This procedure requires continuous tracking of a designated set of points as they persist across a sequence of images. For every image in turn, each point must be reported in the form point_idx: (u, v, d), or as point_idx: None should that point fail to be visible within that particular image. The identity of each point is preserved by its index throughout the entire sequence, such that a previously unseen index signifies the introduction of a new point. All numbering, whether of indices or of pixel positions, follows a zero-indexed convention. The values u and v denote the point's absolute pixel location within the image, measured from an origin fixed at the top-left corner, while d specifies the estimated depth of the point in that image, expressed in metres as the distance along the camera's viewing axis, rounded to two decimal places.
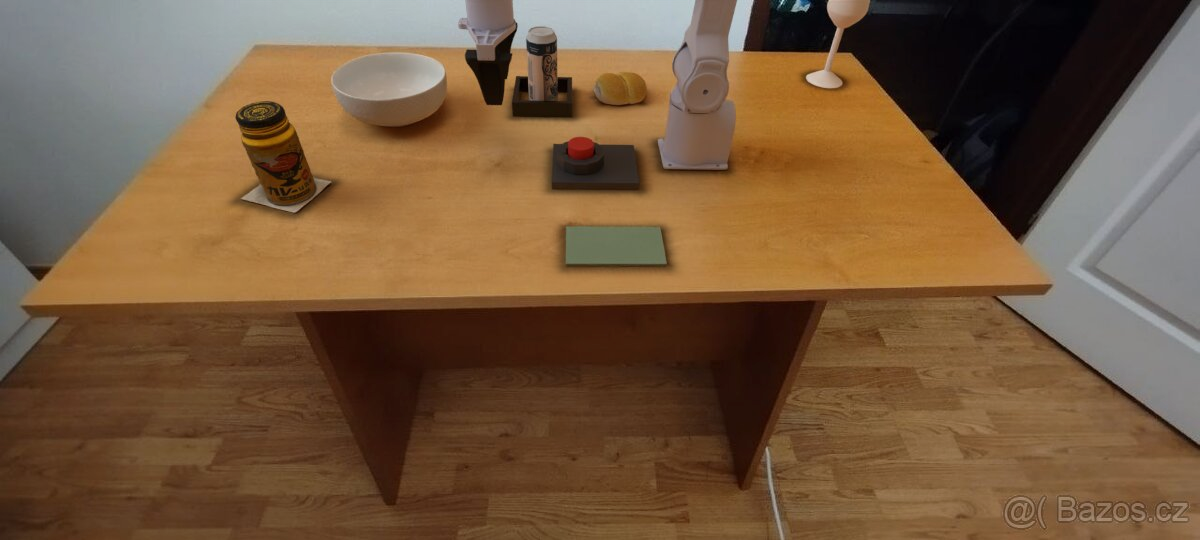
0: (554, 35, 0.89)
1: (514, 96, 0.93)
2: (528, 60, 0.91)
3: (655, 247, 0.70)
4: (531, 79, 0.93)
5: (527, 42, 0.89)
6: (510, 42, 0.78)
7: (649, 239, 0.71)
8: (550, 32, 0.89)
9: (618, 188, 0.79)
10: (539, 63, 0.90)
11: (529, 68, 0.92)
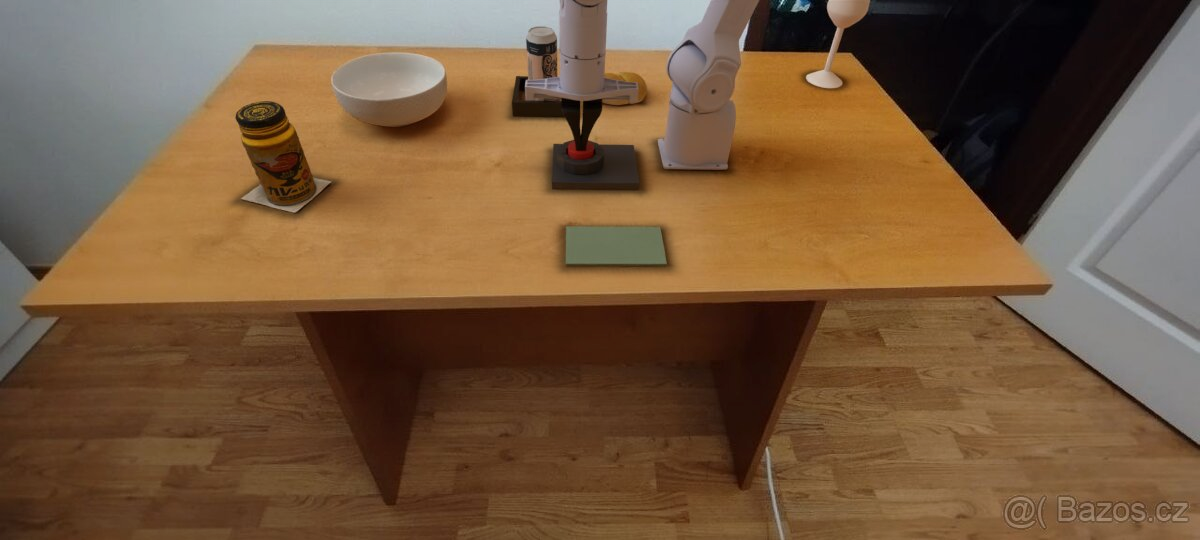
0: (554, 35, 0.89)
1: (514, 96, 0.93)
2: (528, 60, 0.91)
3: (655, 247, 0.70)
4: (531, 79, 0.93)
5: (527, 42, 0.89)
6: (583, 120, 0.76)
7: (649, 239, 0.71)
8: (550, 32, 0.89)
9: (618, 188, 0.79)
10: (539, 63, 0.90)
11: (529, 68, 0.92)
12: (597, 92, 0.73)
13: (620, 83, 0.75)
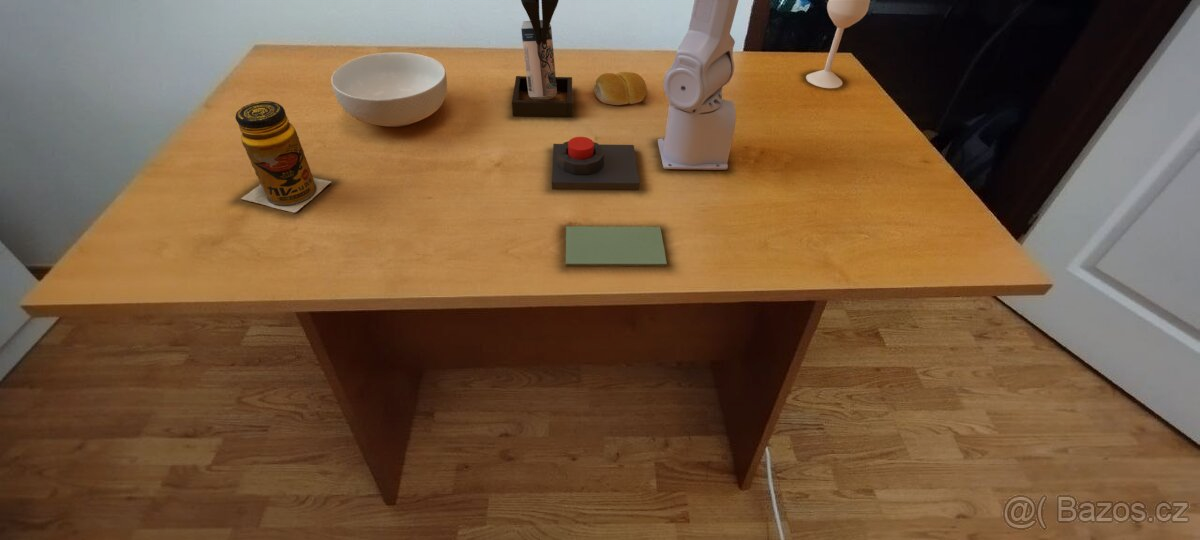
0: None
1: (514, 96, 0.93)
2: (524, 50, 0.93)
3: (655, 247, 0.70)
4: (528, 69, 0.93)
5: (522, 31, 0.92)
6: None
7: (649, 239, 0.71)
8: None
9: (618, 188, 0.79)
10: (535, 48, 0.91)
11: (526, 58, 0.93)
12: None
13: None
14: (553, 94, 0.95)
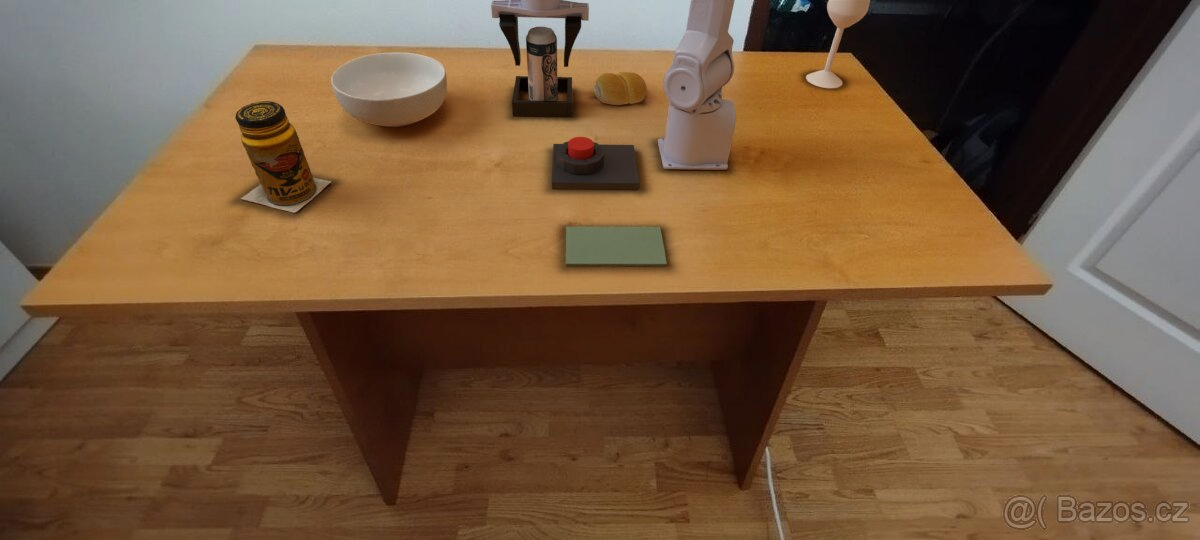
0: (554, 35, 0.89)
1: (514, 96, 0.93)
2: (528, 60, 0.91)
3: (655, 247, 0.70)
4: (531, 79, 0.93)
5: (527, 42, 0.89)
6: None
7: (649, 239, 0.71)
8: (550, 32, 0.89)
9: (618, 188, 0.79)
10: (539, 63, 0.90)
11: (529, 68, 0.92)
12: (552, 9, 0.85)
13: (574, 4, 0.88)
14: None
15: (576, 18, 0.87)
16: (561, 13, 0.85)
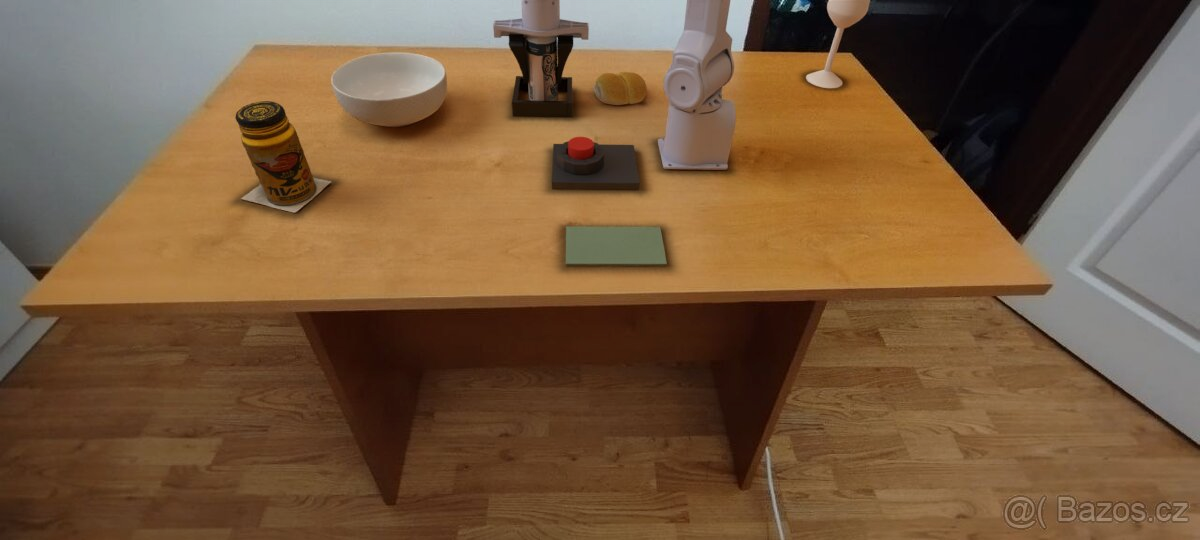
0: (554, 35, 0.89)
1: (514, 96, 0.93)
2: (528, 60, 0.91)
3: (655, 247, 0.70)
4: (531, 79, 0.93)
5: (527, 42, 0.89)
6: None
7: (649, 239, 0.71)
8: None
9: (618, 188, 0.79)
10: (539, 63, 0.90)
11: (529, 68, 0.92)
12: (553, 29, 0.87)
13: (574, 23, 0.90)
14: None
15: (568, 37, 0.89)
16: (561, 33, 0.87)
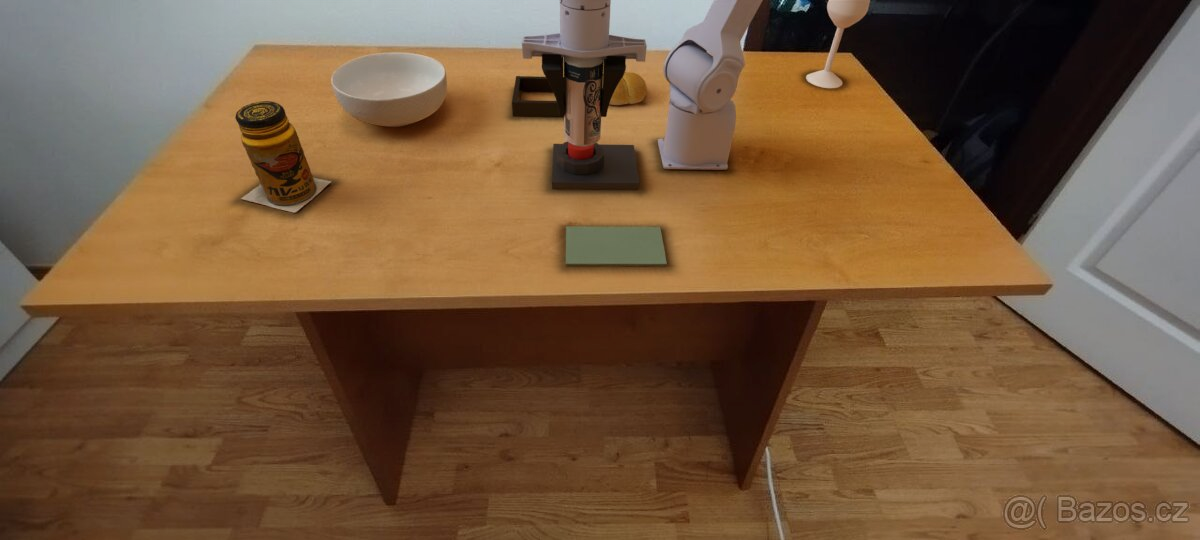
0: None
1: (514, 96, 0.93)
2: (565, 87, 0.71)
3: (655, 247, 0.70)
4: (569, 111, 0.72)
5: (565, 64, 0.69)
6: (604, 81, 0.69)
7: (649, 239, 0.71)
8: None
9: (618, 188, 0.79)
10: (580, 91, 0.69)
11: (566, 97, 0.71)
12: (601, 48, 0.66)
13: (626, 40, 0.69)
14: (596, 141, 0.75)
15: (619, 58, 0.68)
16: (612, 53, 0.67)
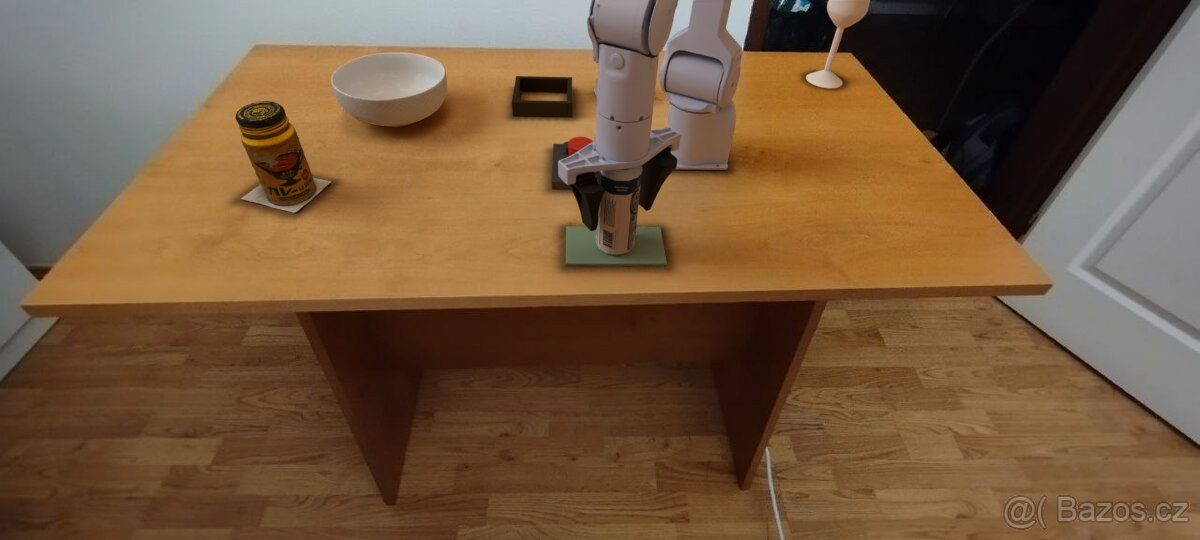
0: None
1: (514, 96, 0.93)
2: (606, 202, 0.64)
3: (655, 247, 0.70)
4: (612, 224, 0.65)
5: (607, 181, 0.62)
6: (656, 177, 0.64)
7: (649, 239, 0.71)
8: None
9: None
10: (627, 202, 0.64)
11: (608, 212, 0.65)
12: (649, 151, 0.61)
13: (654, 133, 0.64)
14: (634, 242, 0.70)
15: (665, 151, 0.64)
16: (657, 152, 0.62)
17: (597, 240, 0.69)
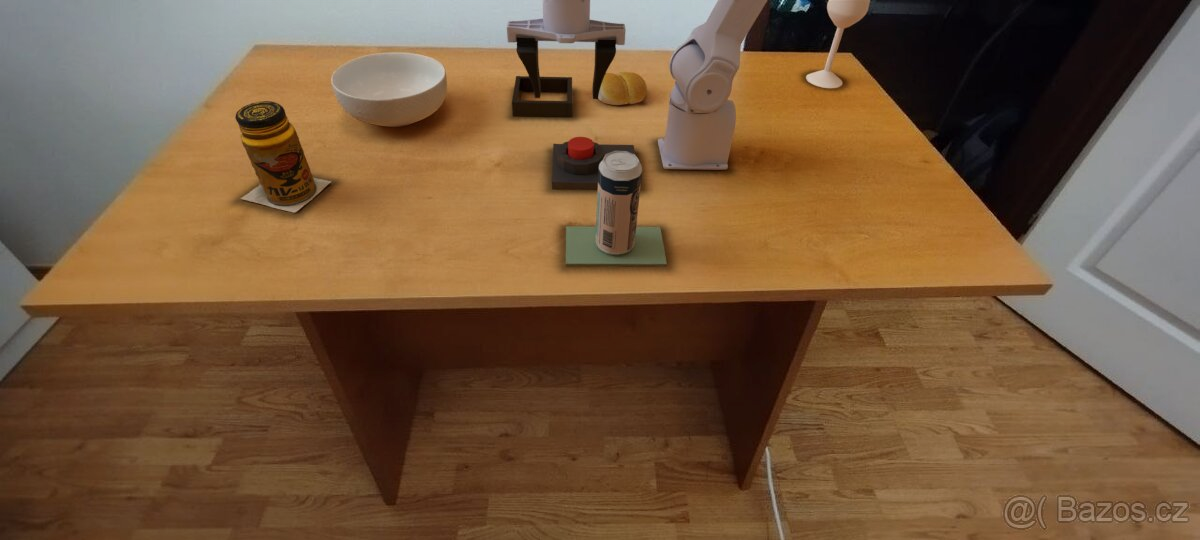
0: None
1: (514, 96, 0.93)
2: (606, 202, 0.64)
3: (655, 247, 0.70)
4: (612, 224, 0.65)
5: (607, 181, 0.62)
6: None
7: (649, 239, 0.71)
8: (632, 158, 0.63)
9: None
10: (627, 202, 0.64)
11: (608, 212, 0.65)
12: None
13: None
14: (634, 242, 0.70)
15: None
16: None
17: (597, 240, 0.69)
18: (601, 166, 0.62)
